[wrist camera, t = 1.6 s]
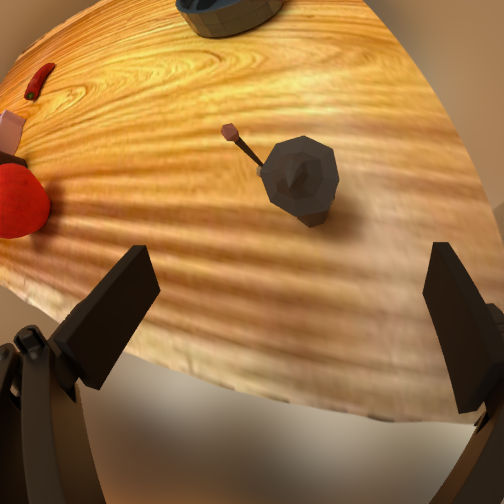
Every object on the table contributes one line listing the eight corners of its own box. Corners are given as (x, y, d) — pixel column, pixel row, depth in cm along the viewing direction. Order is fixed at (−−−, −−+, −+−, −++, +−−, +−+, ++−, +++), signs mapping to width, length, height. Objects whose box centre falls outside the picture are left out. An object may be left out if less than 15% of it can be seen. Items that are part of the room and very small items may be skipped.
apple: (40, 177, 46) (-16, 154, 33) (71, 181, 42) (5, 153, 29) (22, 238, 45) (-36, 224, 32) (50, 254, 41) (-20, 239, 28)
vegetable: (30, 93, 50) (53, 59, 53) (16, 96, 50) (38, 61, 53) (38, 104, 54) (59, 70, 57) (24, 106, 54) (45, 72, 57)
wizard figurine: (348, 186, 28) (340, 117, 17) (339, 242, 28) (328, 202, 16) (266, 176, 31) (218, 113, 20) (255, 229, 30) (197, 187, 19)
